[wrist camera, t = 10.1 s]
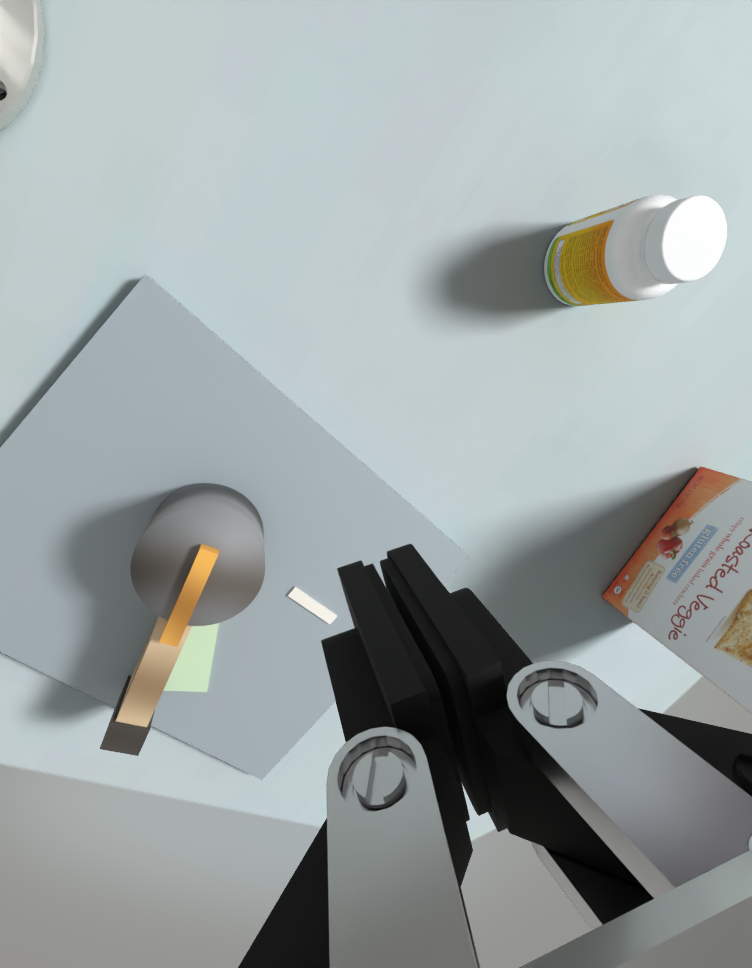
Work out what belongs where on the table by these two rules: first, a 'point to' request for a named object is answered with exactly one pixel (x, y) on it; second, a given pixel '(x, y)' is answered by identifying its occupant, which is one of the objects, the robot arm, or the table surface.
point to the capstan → (186, 590)
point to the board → (134, 499)
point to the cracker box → (698, 581)
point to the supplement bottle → (635, 250)
